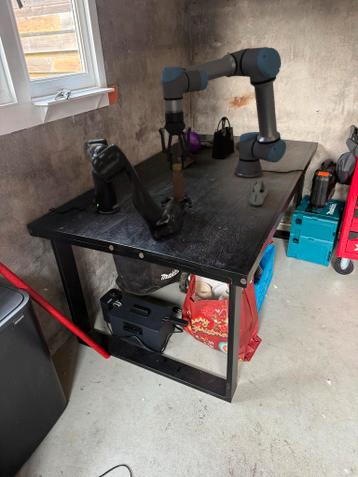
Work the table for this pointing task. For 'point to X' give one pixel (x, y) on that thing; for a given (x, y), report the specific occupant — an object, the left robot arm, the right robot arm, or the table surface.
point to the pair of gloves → (207, 141)
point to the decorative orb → (194, 141)
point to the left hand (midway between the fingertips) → (179, 195)
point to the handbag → (223, 140)
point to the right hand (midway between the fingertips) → (177, 168)
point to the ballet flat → (258, 193)
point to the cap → (177, 166)
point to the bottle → (178, 185)
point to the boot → (188, 155)
